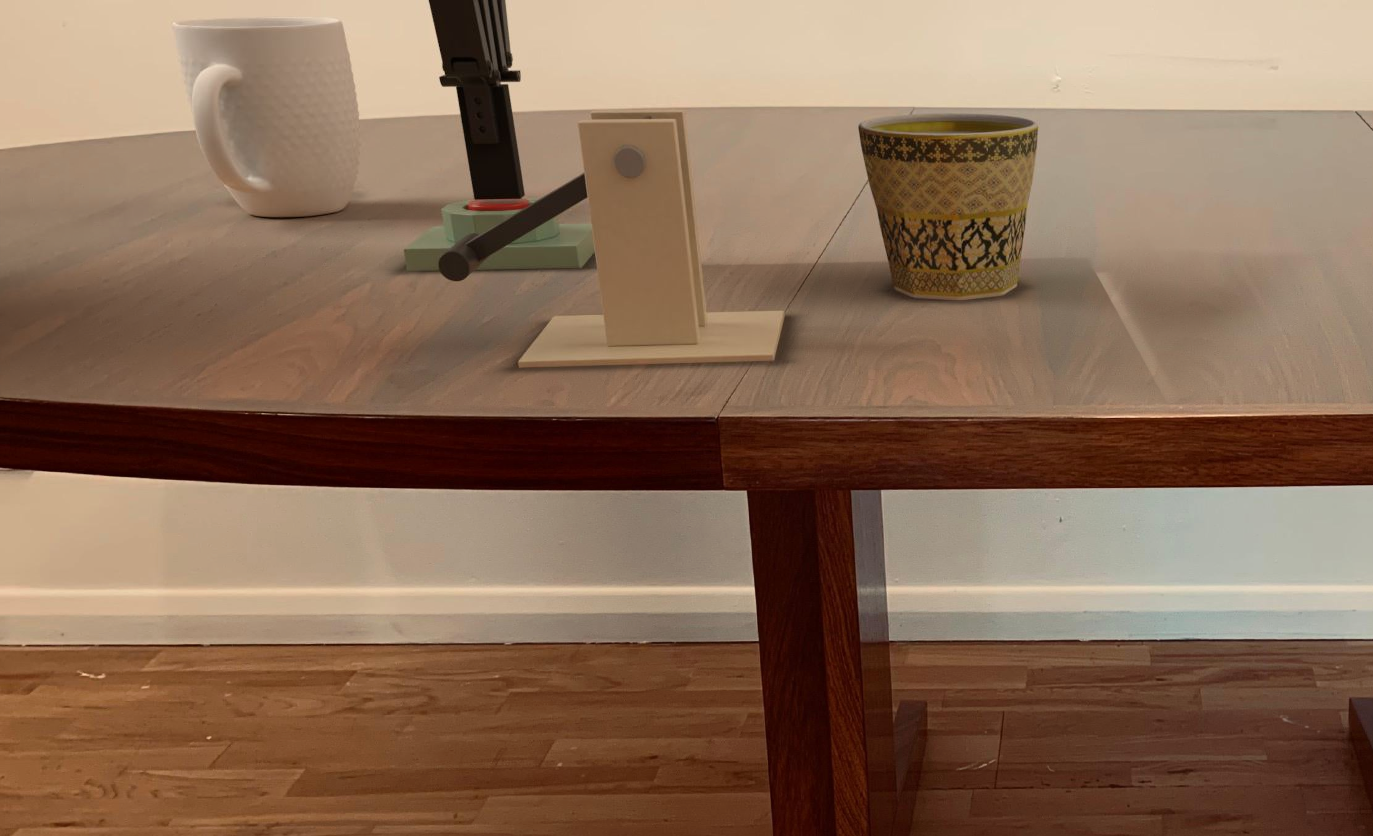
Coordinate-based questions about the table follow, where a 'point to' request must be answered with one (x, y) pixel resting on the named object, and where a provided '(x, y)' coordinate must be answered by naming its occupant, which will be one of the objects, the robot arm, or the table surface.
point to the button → (498, 204)
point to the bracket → (647, 258)
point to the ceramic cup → (951, 199)
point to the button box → (530, 251)
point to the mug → (274, 110)
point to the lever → (509, 230)
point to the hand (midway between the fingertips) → (499, 197)
